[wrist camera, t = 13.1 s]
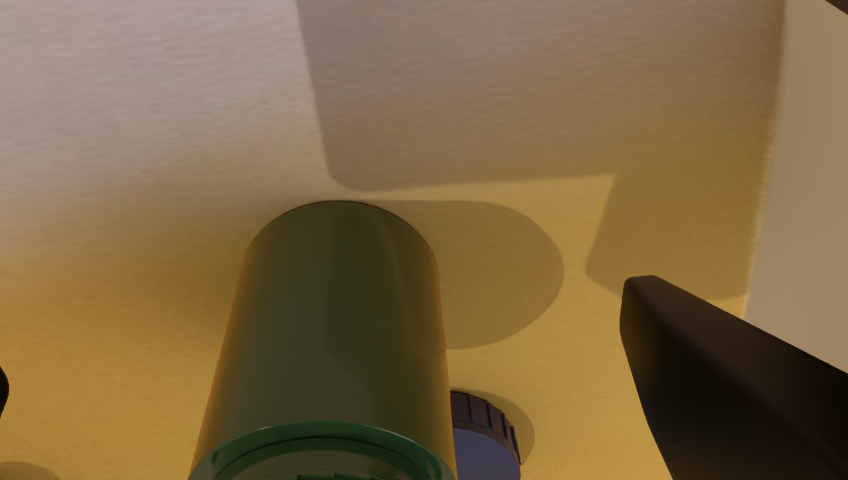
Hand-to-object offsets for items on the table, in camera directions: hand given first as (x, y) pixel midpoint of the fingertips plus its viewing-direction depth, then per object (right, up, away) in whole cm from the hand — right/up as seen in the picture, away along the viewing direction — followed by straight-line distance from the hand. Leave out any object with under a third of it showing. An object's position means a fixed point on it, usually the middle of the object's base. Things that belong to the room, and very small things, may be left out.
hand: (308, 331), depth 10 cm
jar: (-1, 0, +12) cm, 12 cm away
